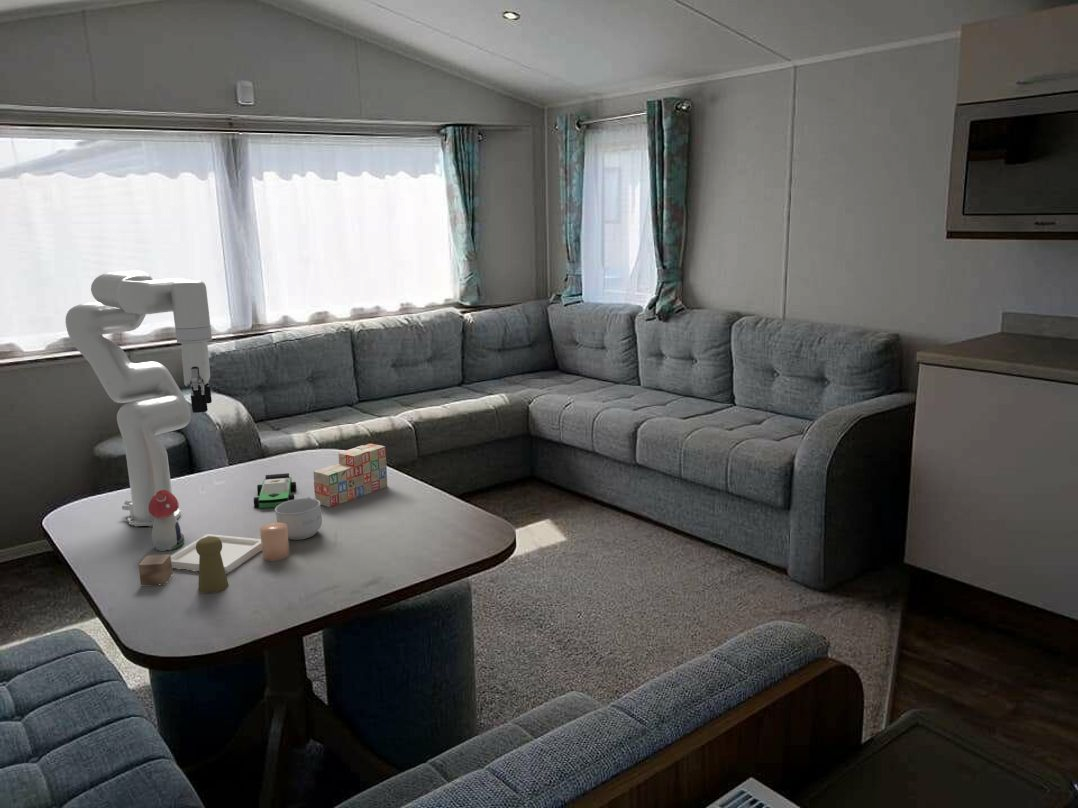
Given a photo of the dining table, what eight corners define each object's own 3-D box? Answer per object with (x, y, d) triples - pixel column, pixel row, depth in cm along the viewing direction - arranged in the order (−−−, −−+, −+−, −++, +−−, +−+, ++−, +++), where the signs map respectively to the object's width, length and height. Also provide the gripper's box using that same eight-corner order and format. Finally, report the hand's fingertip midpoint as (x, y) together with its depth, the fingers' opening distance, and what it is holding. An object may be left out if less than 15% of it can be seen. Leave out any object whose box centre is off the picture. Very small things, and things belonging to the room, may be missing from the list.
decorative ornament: (173, 554, 196) (166, 493, 193) (145, 554, 196) (138, 493, 193) (190, 538, 205) (183, 480, 202) (163, 538, 205) (156, 480, 202)
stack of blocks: (330, 508, 226) (327, 464, 223) (315, 503, 229) (311, 460, 226) (388, 486, 242) (385, 445, 240) (372, 482, 246) (370, 442, 243)
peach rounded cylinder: (257, 559, 193) (254, 530, 191) (271, 549, 198) (269, 521, 197) (280, 561, 191) (278, 533, 190) (294, 551, 197) (292, 523, 195)
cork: (203, 581, 182) (197, 533, 179) (231, 580, 182) (227, 532, 180) (194, 594, 176) (188, 545, 173) (224, 592, 176) (218, 543, 174)
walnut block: (141, 586, 180) (138, 565, 179) (149, 576, 185) (146, 555, 183) (165, 585, 180) (162, 563, 179) (172, 575, 185) (170, 554, 184)
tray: (163, 567, 189) (162, 560, 188) (207, 540, 204) (207, 533, 203) (226, 574, 185) (225, 567, 184) (266, 546, 200) (265, 539, 199)
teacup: (310, 545, 201) (308, 513, 199) (269, 542, 203) (266, 510, 201) (335, 524, 214) (333, 494, 212) (296, 521, 216) (294, 491, 214)
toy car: (253, 511, 224) (252, 494, 223) (259, 489, 242) (258, 472, 241) (294, 508, 226) (292, 490, 225) (297, 485, 245) (295, 469, 243)
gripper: (181, 331, 200) (189, 401, 203) (170, 340, 183) (180, 417, 187) (214, 329, 201) (222, 399, 205) (207, 338, 185) (216, 414, 189)
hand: (202, 407), depth 196 cm, fingers open, 9 cm apart
